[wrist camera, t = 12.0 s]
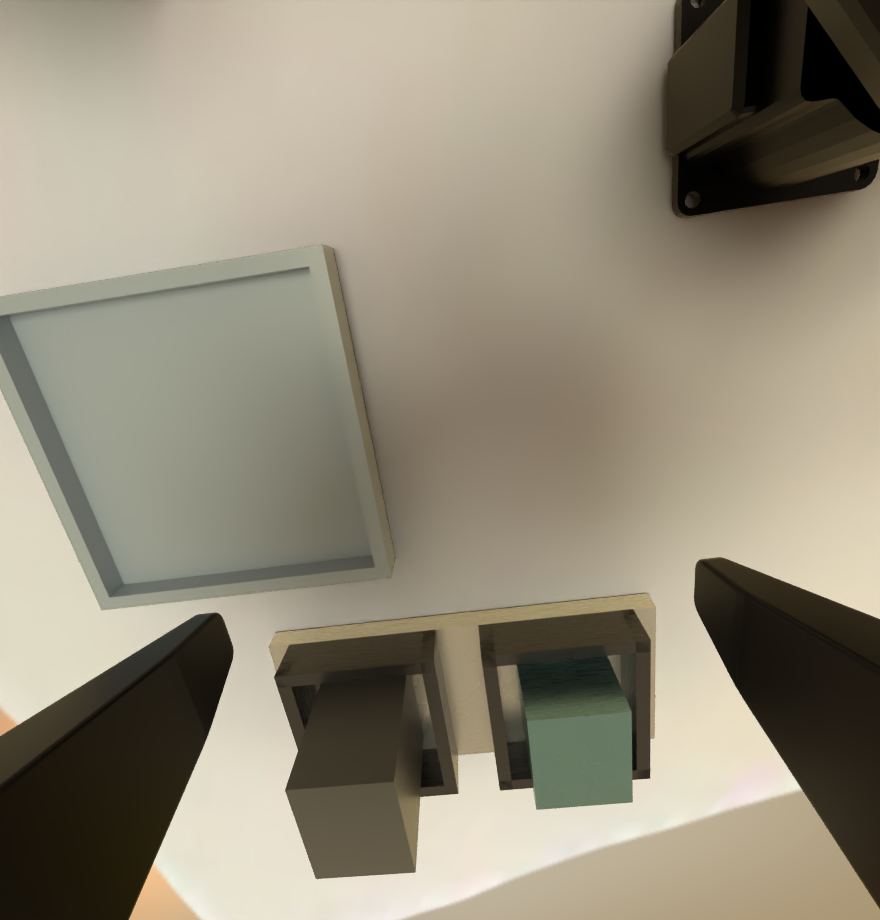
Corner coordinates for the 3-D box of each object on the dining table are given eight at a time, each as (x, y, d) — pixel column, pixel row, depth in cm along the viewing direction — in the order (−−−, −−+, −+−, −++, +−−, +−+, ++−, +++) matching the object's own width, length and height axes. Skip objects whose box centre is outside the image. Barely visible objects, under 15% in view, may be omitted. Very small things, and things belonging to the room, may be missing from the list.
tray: (333, 248, 17) (322, 244, 16) (395, 558, 22) (391, 577, 20) (1, 302, 18) (-40, 302, 17) (124, 589, 23) (101, 610, 21)
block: (408, 658, 22) (394, 781, 17) (423, 736, 24) (415, 872, 18) (326, 666, 23) (285, 790, 17) (347, 742, 24) (315, 878, 19)
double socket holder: (647, 593, 22) (700, 674, 17) (646, 721, 25) (692, 822, 20) (275, 632, 23) (231, 719, 19) (313, 750, 26) (283, 852, 21)
